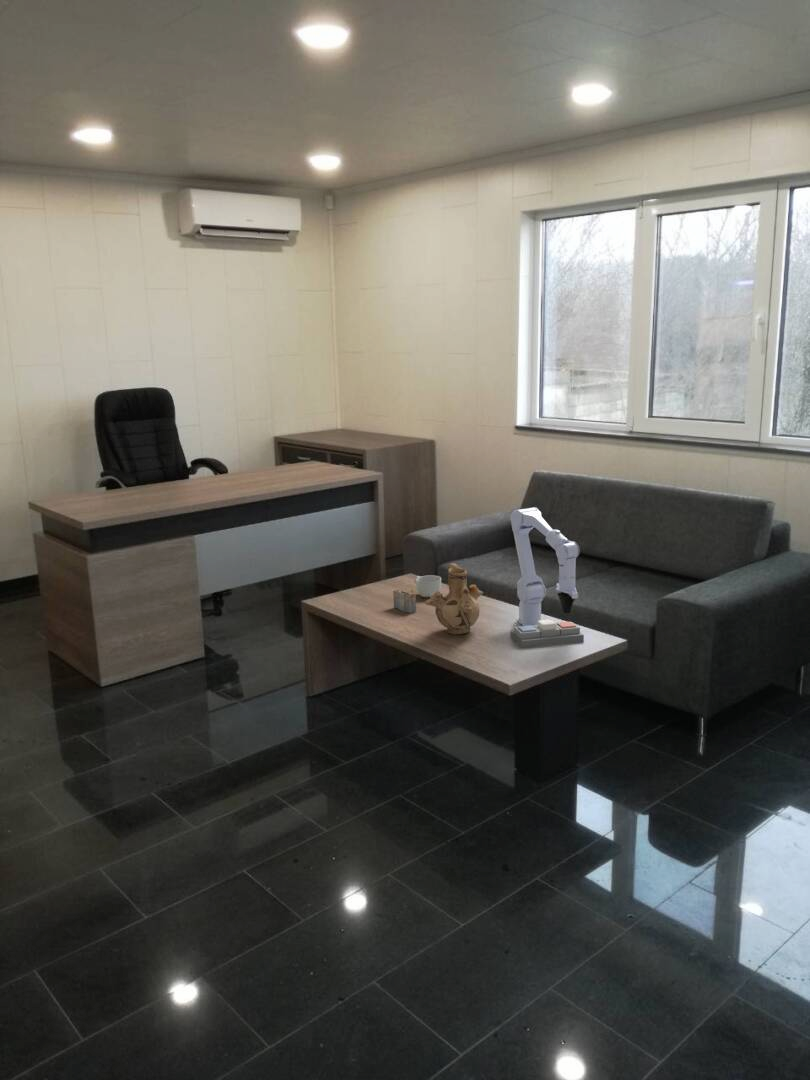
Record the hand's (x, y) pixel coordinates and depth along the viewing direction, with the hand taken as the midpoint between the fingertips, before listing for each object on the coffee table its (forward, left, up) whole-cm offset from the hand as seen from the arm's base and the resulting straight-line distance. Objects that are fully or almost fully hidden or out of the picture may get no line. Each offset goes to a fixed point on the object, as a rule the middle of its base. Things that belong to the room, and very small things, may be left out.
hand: (566, 612), depth 306 cm
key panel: (0, -7, -9) cm, 12 cm away
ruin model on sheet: (-51, -48, -10) cm, 71 cm away
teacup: (-69, -34, -10) cm, 78 cm away
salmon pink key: (0, 0, -7) cm, 7 cm away
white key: (0, -8, -5) cm, 9 cm away
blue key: (0, -15, -7) cm, 16 cm away
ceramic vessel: (-17, -36, -10) cm, 41 cm away
